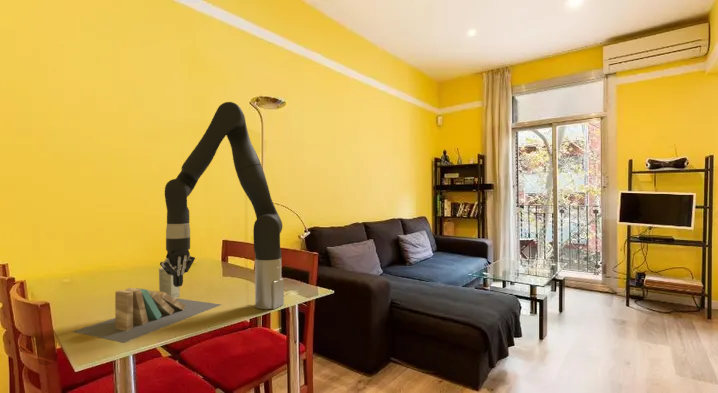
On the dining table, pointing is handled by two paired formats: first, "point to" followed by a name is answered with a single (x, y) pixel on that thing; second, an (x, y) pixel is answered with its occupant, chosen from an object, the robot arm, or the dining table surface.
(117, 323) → the domino
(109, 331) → the mat
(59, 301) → the dining table surface
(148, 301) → the domino
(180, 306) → the domino
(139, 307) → the domino
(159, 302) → the domino
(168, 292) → the skincare box
